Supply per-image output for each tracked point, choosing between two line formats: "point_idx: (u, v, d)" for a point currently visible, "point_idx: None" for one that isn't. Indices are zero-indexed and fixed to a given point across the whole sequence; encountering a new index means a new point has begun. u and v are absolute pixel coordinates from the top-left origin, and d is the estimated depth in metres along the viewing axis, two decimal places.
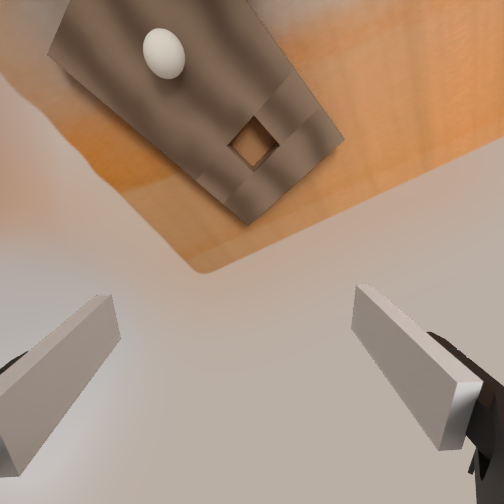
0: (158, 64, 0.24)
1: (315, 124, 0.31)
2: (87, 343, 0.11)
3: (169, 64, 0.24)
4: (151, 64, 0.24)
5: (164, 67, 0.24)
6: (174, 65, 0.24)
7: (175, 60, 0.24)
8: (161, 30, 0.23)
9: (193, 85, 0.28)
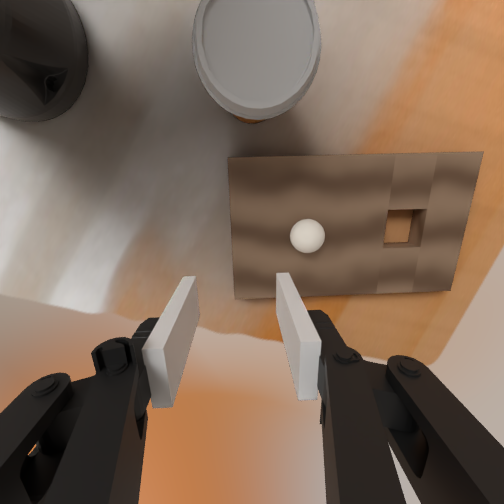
0: (313, 246, 0.28)
1: (445, 167, 0.29)
2: (189, 314, 0.13)
3: (320, 239, 0.28)
4: (308, 250, 0.28)
5: (318, 244, 0.28)
6: (322, 237, 0.28)
7: (321, 233, 0.28)
8: (300, 225, 0.28)
9: (330, 233, 0.31)
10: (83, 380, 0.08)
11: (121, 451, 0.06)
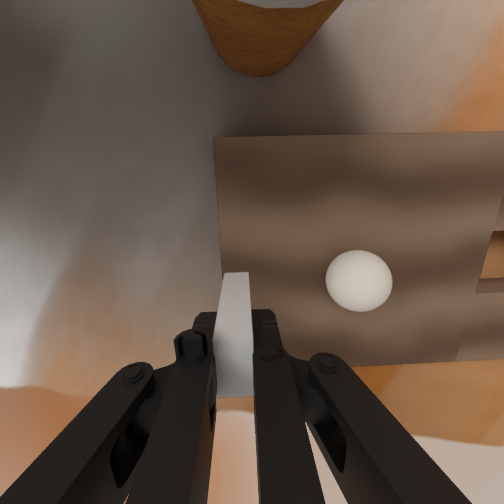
0: (375, 305, 0.15)
1: None
2: None
3: (387, 292, 0.15)
4: (362, 310, 0.15)
5: (382, 300, 0.15)
6: (391, 286, 0.15)
7: (389, 280, 0.15)
8: (349, 265, 0.15)
9: (390, 271, 0.18)
10: (160, 369, 0.09)
11: (199, 443, 0.06)
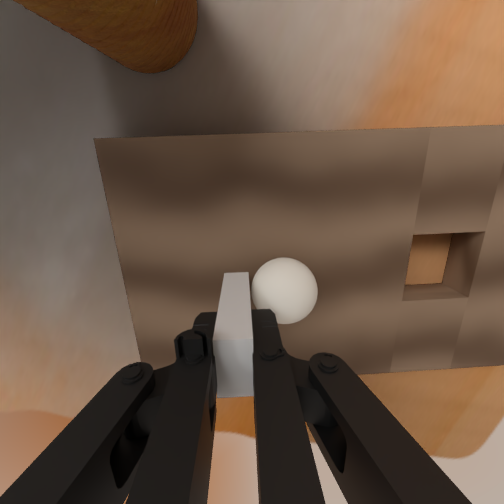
0: (311, 310, 0.14)
1: None
2: None
3: (317, 294, 0.15)
4: None
5: (314, 303, 0.15)
6: None
7: None
8: (284, 278, 0.13)
9: None
10: (160, 369, 0.09)
11: (199, 443, 0.06)
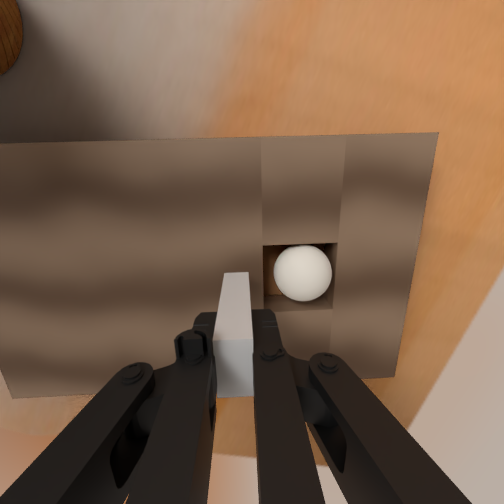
0: (325, 278, 0.16)
1: (364, 164, 0.15)
2: None
3: None
4: (316, 286, 0.16)
5: (329, 276, 0.16)
6: None
7: None
8: (296, 246, 0.17)
9: (160, 289, 0.17)
10: (160, 369, 0.09)
11: (199, 443, 0.06)
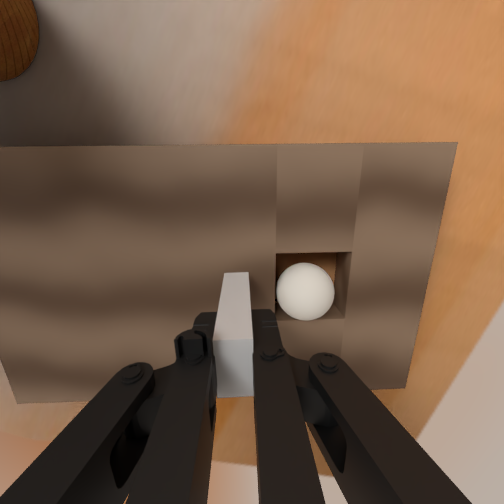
0: (319, 310, 0.16)
1: (381, 173, 0.15)
2: None
3: (330, 299, 0.16)
4: (307, 316, 0.16)
5: (326, 307, 0.16)
6: (333, 295, 0.16)
7: (332, 289, 0.16)
8: (299, 271, 0.16)
9: (170, 296, 0.17)
10: (160, 369, 0.09)
11: (199, 443, 0.06)
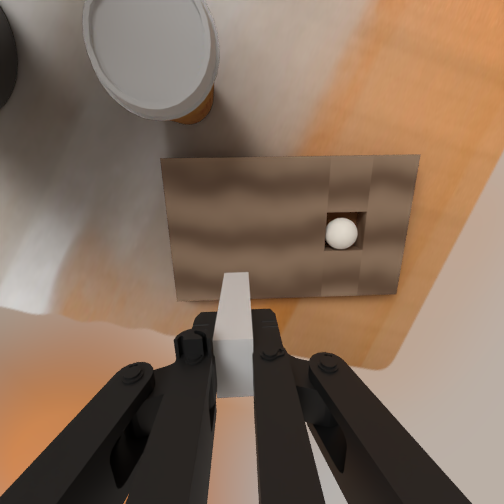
0: (350, 239, 0.30)
1: (382, 170, 0.29)
2: None
3: (356, 234, 0.30)
4: (344, 243, 0.30)
5: (354, 238, 0.30)
6: (357, 233, 0.31)
7: (356, 229, 0.31)
8: (338, 220, 0.31)
9: (270, 236, 0.31)
10: (160, 369, 0.09)
11: (199, 443, 0.06)
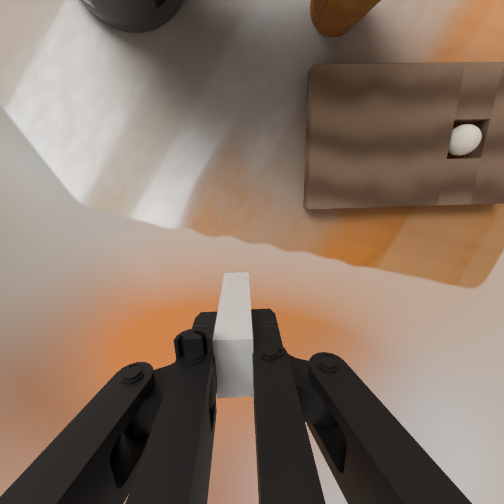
0: (478, 138, 0.33)
1: None
2: None
3: (481, 135, 0.33)
4: (472, 142, 0.33)
5: (480, 138, 0.33)
6: None
7: None
8: (462, 125, 0.34)
9: (400, 143, 0.34)
10: (160, 369, 0.09)
11: (199, 443, 0.06)
